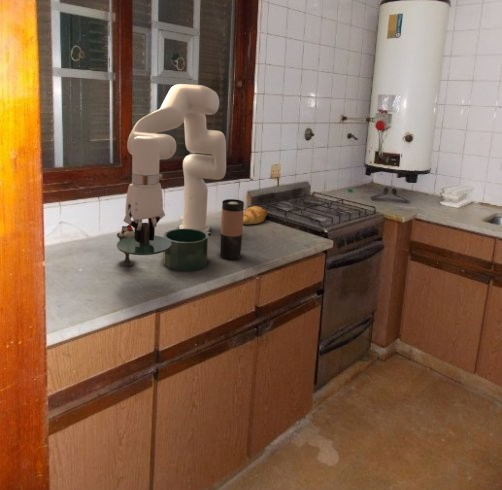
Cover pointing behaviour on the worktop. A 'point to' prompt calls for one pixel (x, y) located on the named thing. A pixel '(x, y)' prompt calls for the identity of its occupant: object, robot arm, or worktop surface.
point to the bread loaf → (254, 215)
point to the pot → (186, 249)
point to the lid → (144, 244)
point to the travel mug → (231, 229)
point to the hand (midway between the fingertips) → (144, 240)
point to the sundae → (126, 232)
